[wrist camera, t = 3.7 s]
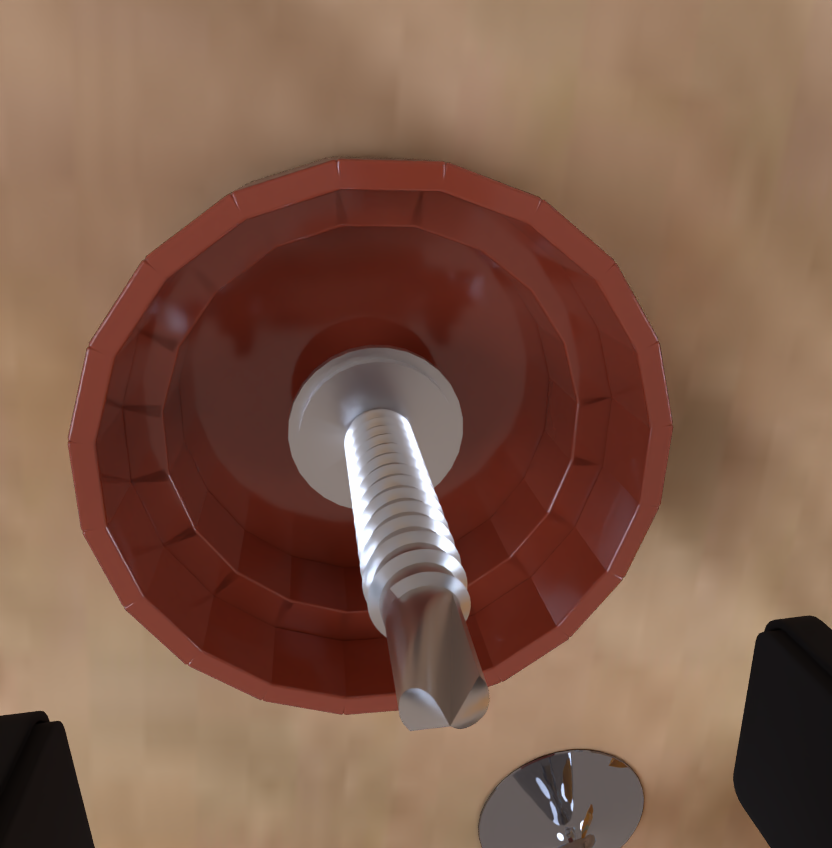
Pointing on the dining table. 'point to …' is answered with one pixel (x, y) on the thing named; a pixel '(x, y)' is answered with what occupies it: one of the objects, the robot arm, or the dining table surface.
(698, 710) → the dining table surface
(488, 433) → the bowl
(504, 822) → the wine glass
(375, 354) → the screw
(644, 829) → the dining table surface
